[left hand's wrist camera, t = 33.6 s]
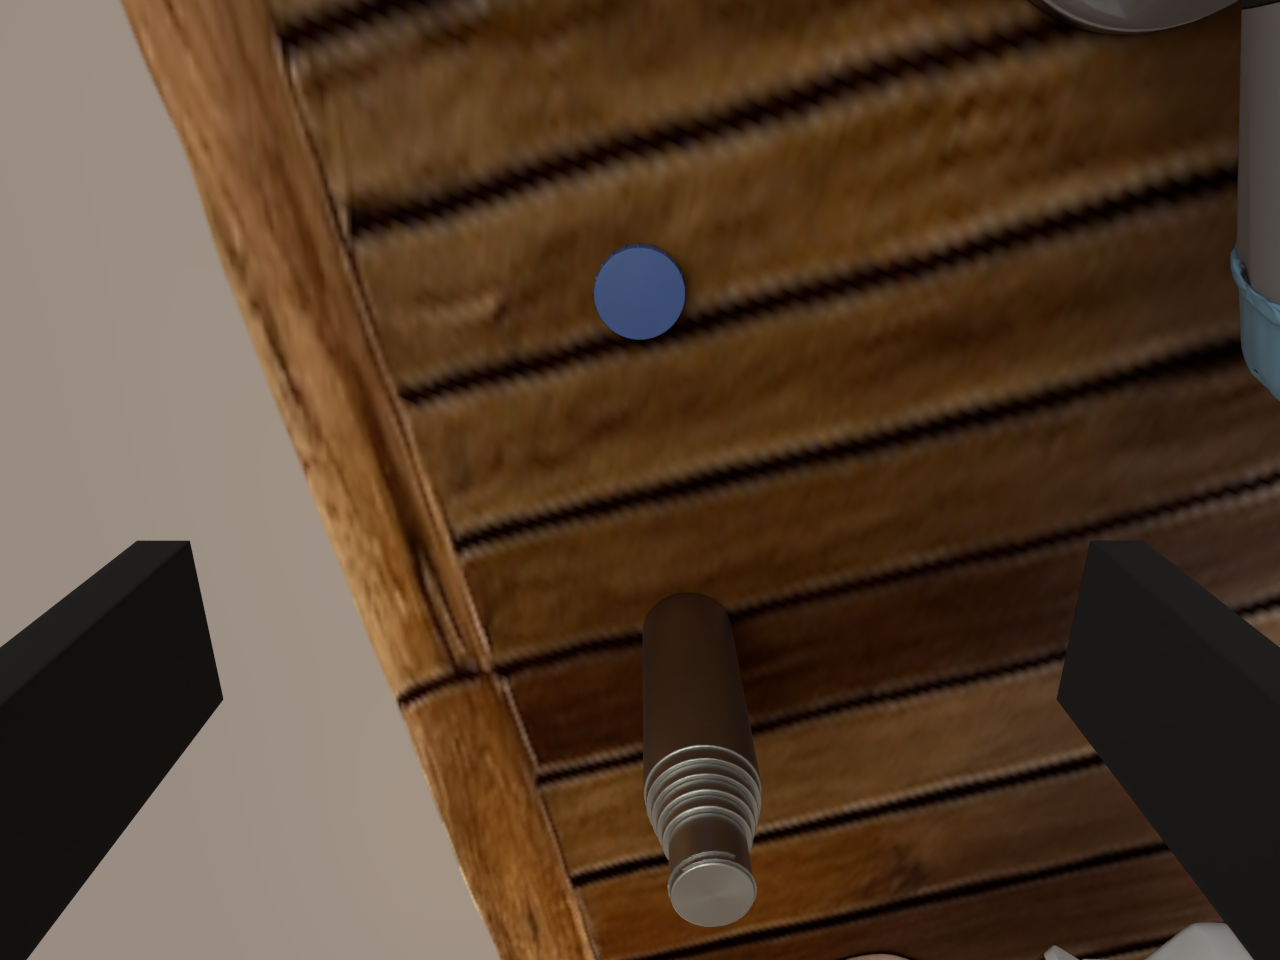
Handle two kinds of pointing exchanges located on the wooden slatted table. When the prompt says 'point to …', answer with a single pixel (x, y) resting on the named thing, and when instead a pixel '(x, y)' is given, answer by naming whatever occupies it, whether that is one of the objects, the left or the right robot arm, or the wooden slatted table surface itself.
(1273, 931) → the left robot arm
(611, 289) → the cap
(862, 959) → the anatomical model
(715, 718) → the bottle
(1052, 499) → the wooden slatted table surface
